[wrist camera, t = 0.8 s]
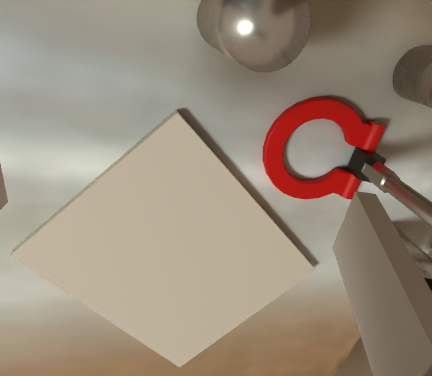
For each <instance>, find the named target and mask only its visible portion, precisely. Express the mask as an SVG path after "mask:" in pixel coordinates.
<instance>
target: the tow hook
mask: <svg viewBox="0 0 432 376" xmlns="http://www.w3.org/2000/svg"><path fill="white" fill-rule="evenodd" d="M322 118H324V119H329V120H332V121H334V122H336V123H337V124H338V125H339V126H340V127H341V129H342V131H343V133H344V137H345V141H346V142H347V143H348V144H349V145H352V146H356V147H355V150H354V152H353V154H352V157H351V159H350V161H349V163H348V166H347V170H343V169H338V168H335V169H333V170H332V171H331V172H330V173H328V174H326V175H325V176H323V177H320V178H317V179H314V180H302V179H298V178H296V177H293V176H292V175H291V174H289V173H288V172H287V170H286V168H285V166H284V162H283V150H284V147H285V143H286V141H287V139H288V138H289V136H290V134H291V133H292V132H293V131H294V130H295V129H296V128H297V127H299V126H300V125H302V124H303V123H305V122H307V121H310V120H313V119H322ZM385 128H386V126H385V125H383V124H381V123H379V122H375V121H369V122H368V123H366V122H362V121H361V118H360V117H359V115H358V114H357V113H356V112H355V111H354V110H353V109H352V108H351V107H349V106H347V105H346V104H344V103H342V102H340V101H338V100H335V99H331V98H326V97H319V98H309V99H306V100H304V101H301V102H298V103H296V104H294V105H293V106H291V107H290V108H288V109H287V110H285V111H284V112H283V113H282V114H281V115H280V116H279V117H278V118H277V119H276V120H275V121H274V123H273V124H272V126H271V128H270V130H269V131H268V133H267V135H266V139H265V142H264V146H263V163H264V167H265V171H266V173H267V175H268V176H269V178H270V180H271V181H272V183H273V184H274V186H276V187H277V188H278V189H279V190H280V191H282V192H283V193H285V194H287V195H289V196H292V197H294V198H301V199H313V198H320V197H323V196H326V195H328V194H331V193H336V194H339V195H340V196H342V197H344V198H347V199H352V198H353V196H354V193H355V191H357V189H358V187H359V185H360V183H361V180H362V181H367V182H371V183H373V184H374V185H375V186H377V187H378V188H379V189H380V190H382V191H383V192H384V193H387V192H388V193H390V194H391V195H392V196H393V197H395V198H396V199H397V200H398V201H400V202H401V203H402V204H403V205H405V206H406V207H407V208H408V209H410V210H411V211H412V212H413V213H415V214H416V215H417V216H419V217H420V218H421V219H422V220H424V221H425V222H426V223H427V224H429V225H430V226H431V227H432V202H431V201H429V200H428V199H427V198H425V197H424V196H422V195H421V194H419V193H418V192H417V191H415V190H414V189H412V188H411V187H410V186H408V185H407V184H405V183H404V182H402V181H401V180H400V178H399V177H398V176H397V175H396V173H394V172H393V171H392V170H390V169H389V168H387V167H386V166H384V163H385V161H386V159H385V158H383V157H381V156H380V155H378V154H377V153H375V150H376V148H377V146H378V143H379V141H380V139H381V137H382V135H383V132H384V130H385Z"/></svg>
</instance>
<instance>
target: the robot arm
mask: <svg viewBox="0 0 432 376" xmlns="http://www.w3.org/2000/svg"><path fill="white" fill-rule="evenodd" d="M7 202H8V200H7V195H6V190H5V185H4V180H3V175H2V170H1V165H0V210H1V209H2V208H3V207H4V206H5V204H6V203H7ZM333 251H334V254H335V257H336V260H337V263H338V266H339V269H340V272H341V276H342V279H343V282H344V285H345V288H346V291H347V294H348V297H349V300H350V304H351V307H352V310H353V313H354V316H355V319H356V322H357V325H358V328H359V332H360V335H361V338H362V341H363V344H364V347H365V350H366V353H367V357H368V359H369V363H370V366H371V369H372V372H373V375H374V376H432V279H429V278H424V277H423V276H422V274H421V272H420V270H419V269H418V267H417V265H416V263H415V262H414V260H413V258H412V256H411V255H410V253H409V251H408V250H407V248H406V246H405V244H404V243H403V241H402V239H401V237H400V236H399V234H398V232H397V230H396V229H395V227H394V225H393V223H392V222H391V220H390V218H389V216H388V215H387V213H386V211H385V209H384V208H383V206H382V204H381V202H380V201H379V199H378V197H377V196H376V194H372V193H365V192H358V191H355V193H354V196H353V198H352V201H351V203H350V205H349V208H348V210H347V213H346V215H345V218H344V220H343V223H342V225H341V228H340V230H339V233H338V235H337V238H336V240H335V242H334V245H333Z"/></svg>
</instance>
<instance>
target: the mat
mask: <svg viewBox="0 0 432 376" xmlns="http://www.w3.org/2000/svg"><path fill="white" fill-rule="evenodd" d="M10 256H11V257H13V258H14V259H16V260H17V261H19V262H21V263H22V264H24V265H25V266H27V267H28V268H30V269H31V270H33V271H34V272H36V273H37V274H39V275H40V276H42V277H43V278H45V279H46V280H48V281H49V282H51V283H52V284H54V285H55V286H57V287H58V288H60V289H61V290H63V291H64V292H66V293H68V294H69V295H71V296H72V297H74V298H75V299H77V300H78V301H80V302H81V303H83V304H84V305H86V306H87V307H89V308H90V309H92V310H93V311H95V312H96V313H98V314H99V315H101V316H102V317H104V318H105V319H107V320H108V321H110V322H111V323H113V324H115V325H116V326H118V327H119V328H121V329H122V330H124V331H125V332H127V333H128V334H130V335H131V336H133V337H134V338H136V339H137V340H139V341H140V342H142V343H143V344H145V345H146V346H148V347H149V348H151V349H152V350H154V351H155V352H157V353H158V354H160V355H162V356H163V357H165V358H166V359H168V360H169V361H171V362H172V363H174V364H175V365H177V366H178V367H181V366H182V365H184V364H185V363H186V362H188V361H189V360H191V359H192V358H193V357H195V356H196V355H197V354H199V353H200V352H202V351H203V350H204V349H206V348H207V347H209V346H210V345H211V344H213V343H214V342H216V341H217V340H218V339H220V338H221V337H223V336H224V335H225V334H227V333H228V332H230V331H231V330H232V329H234V328H235V327H237V326H238V325H239V324H241V323H242V322H243V321H245V320H246V319H248V318H249V317H250V316H252V315H253V314H255V313H256V312H257V311H259V310H260V309H262V308H263V307H264V306H266V305H267V304H269V303H270V302H271V301H273V300H274V299H276V298H277V297H278V296H280V295H281V294H283V293H284V292H285V291H287V290H288V289H289V288H291V287H292V286H294V285H295V284H296V283H298V282H299V281H301V280H302V279H303V278H305V277H306V276H308V275H309V274H310V273H312V272H313V271H315V270H316V269H315V268H314V266H313V265H312V264H311V263H310V261H309V260H308V259H307V258H306V257H305V256H304V255H303V253H302V252H301V251H300V250H299V249H298V248H297V247H296V245H295V244H294V243H293V242H292V241H291V240H290V239H289V237H288V236H287V235H286V234H285V233H284V232H283V231H282V229H281V228H280V227H279V226H278V225H277V224H276V223H275V221H274V220H273V219H272V218H271V217H270V216H269V215H268V213H267V212H266V211H265V210H264V209H263V208H262V207H261V205H260V204H259V203H258V202H257V201H256V200H255V199H254V197H253V196H252V195H251V194H250V193H249V192H248V191H247V190H246V188H245V187H244V186H243V185H242V184H241V183H240V182H239V180H238V179H237V178H236V177H235V176H234V175H233V174H232V172H231V171H230V170H229V169H228V168H227V167H226V166H225V164H224V163H223V162H222V161H221V160H220V159H219V158H218V156H217V155H216V154H215V153H214V152H213V151H212V150H211V148H210V147H209V146H208V145H207V144H206V143H205V142H204V140H203V139H202V138H201V137H200V136H199V135H198V134H197V132H196V131H195V130H194V129H193V128H192V127H191V126H190V124H189V123H188V122H187V121H186V120H185V119H184V118H183V116H182V115H181V114H180V113H179V112H178V111H177V110H176V111H174V112H173V113H172V114H171V115H170V116H169V117H167V118H166V119H165V120H164V121H163V122H162V123H160V124H159V125H158V126H157V127H156V128H155V129H153V130H152V131H151V132H150V133H149V134H147V135H146V136H145V137H144V138H143V139H142V140H140V141H139V142H138V143H137V144H136V145H135V146H133V147H132V148H131V149H130V150H129V151H128V152H126V153H125V154H124V155H123V156H122V157H121V158H119V159H118V160H117V161H116V162H115V163H114V164H112V165H111V166H110V167H109V168H108V169H107V170H105V171H104V172H103V173H102V174H101V175H100V176H98V177H97V178H96V179H95V180H94V181H93V182H91V183H90V184H89V185H88V186H87V187H86V188H84V189H83V190H82V191H81V192H80V193H79V194H77V195H76V196H75V197H74V198H73V199H72V200H70V201H69V202H68V203H67V204H66V205H64V206H63V207H62V208H61V209H60V210H59V211H57V212H56V213H55V214H54V215H53V216H52V217H50V218H49V219H48V220H47V221H46V222H45V223H43V224H42V225H41V226H40V227H39V228H38V229H36V230H35V231H34V232H33V233H32V234H31V235H29V236H28V237H27V238H26V239H25V240H24V241H22V242H21V243H20V244H19V245H18V246H17V247H15V248H14V249H13V251H12V253H11V255H10Z"/></svg>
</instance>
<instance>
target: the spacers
mask: <svg viewBox="0 0 432 376" xmlns="http://www.w3.org/2000/svg"><path fill="white" fill-rule="evenodd" d="M197 24H198V28H199V31H200V34H201V35H202V37H203V38H204V40H205V41H206V42H207V43H208V44H209V45H211V46H212V47H214V48H216V49H217V50H219V51H220V52H222V53H224V54H225V55H227V56H229V57H230V58H232V59H234V60H235V61H237V62H238V63H240V64H242V65H243V66H245V67H247V68H249V69H251V70H254V71H258V72H272V71H276V70H279V69H281V68H283V67H285V66H287V65H288V64H290V63H291V62H292V61H293V60H294V59H295V58H296V57H297V56H298V55H299V54H300V52H301V51H302V49H303V48H304V46H305V44H306V41H307V39H308V36H309V32H310V26H311V14H310V8H309V4H308V2H307V0H201V2H200V4H199V7H198V11H197ZM393 86H394V89H395V91H396V93H397V94H398V95H399V96H401V97H403V98H405V99H408V100H411V101H413V102H416V103H419V104H422V105H424V106H427V107H430V108H432V47H429V46H418V47H415V48H413V49H411V50H409V51H408V52H407V53H405V54H404V55H403V56H402V58H401V59H400V60H399V62H398V63H397V65H396V67H395V70H394V73H393ZM394 227H395V226H394ZM395 229H396V230H397V232H398V234H399V236H400V237H401V239H402V241H403V243H404V244H405V246H406V248H407V250H408V251H409V253H410V255H411V256H412V258H413V260H414V262H415V263H416V265H417V267H418V269H419V270H420V272H421V274H422V276H423V277H424V278H429V279H432V258H431V257H429V256H428V255H427V254H426V253H425V252H424V251H423V250H422V249H420V248H419V247H418V246H417V245H416V244H415V243H414V242H412V241H411V240H410V239H409V238H408V237H407V236H406V235H404V234H403V233H402V232H401V231H400V230H399V229H398V228H396V227H395Z"/></svg>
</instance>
